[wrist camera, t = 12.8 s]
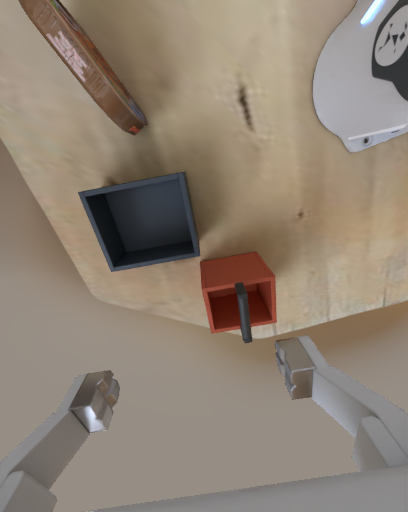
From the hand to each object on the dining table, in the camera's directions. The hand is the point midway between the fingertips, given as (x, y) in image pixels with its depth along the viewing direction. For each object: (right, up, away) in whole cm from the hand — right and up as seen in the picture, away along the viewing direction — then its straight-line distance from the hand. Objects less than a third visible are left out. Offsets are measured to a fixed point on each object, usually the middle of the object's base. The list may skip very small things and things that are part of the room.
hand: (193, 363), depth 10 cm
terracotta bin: (+6, +1, +30) cm, 31 cm away
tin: (-13, +29, +17) cm, 36 cm away
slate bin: (-8, +12, +24) cm, 29 cm away
